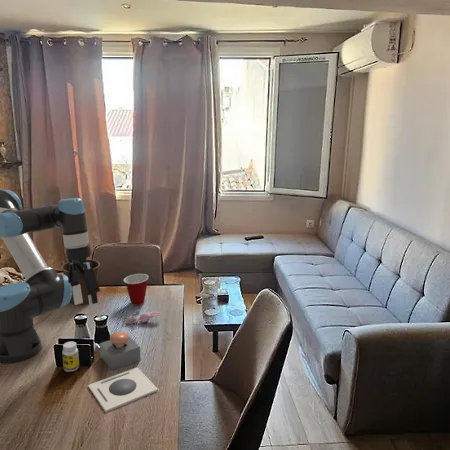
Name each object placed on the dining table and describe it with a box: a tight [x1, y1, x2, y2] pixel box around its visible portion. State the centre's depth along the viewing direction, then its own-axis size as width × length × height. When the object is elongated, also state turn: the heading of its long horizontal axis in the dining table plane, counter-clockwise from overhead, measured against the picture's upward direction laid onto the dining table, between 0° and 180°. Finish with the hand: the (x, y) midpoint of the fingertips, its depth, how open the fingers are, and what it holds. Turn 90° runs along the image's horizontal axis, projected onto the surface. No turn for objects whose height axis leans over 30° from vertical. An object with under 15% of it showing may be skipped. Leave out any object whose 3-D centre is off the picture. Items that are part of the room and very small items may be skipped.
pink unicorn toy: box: [122, 309, 161, 325], centre depth 163 cm, size 6×6×15 cm
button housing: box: [99, 336, 141, 371], centre depth 137 cm, size 10×10×5 cm
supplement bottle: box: [61, 341, 80, 373], centre depth 131 cm, size 5×5×8 cm
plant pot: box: [60, 259, 101, 305], centre depth 183 cm, size 16×16×16 cm
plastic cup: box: [123, 273, 149, 306], centre depth 180 cm, size 11×11×12 cm
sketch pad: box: [87, 366, 159, 413], centre depth 122 cm, size 16×14×1 cm
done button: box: [109, 331, 130, 349], centre depth 136 cm, size 6×6×5 cm
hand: (86, 308), depth 136 cm, fingers open, 13 cm apart
